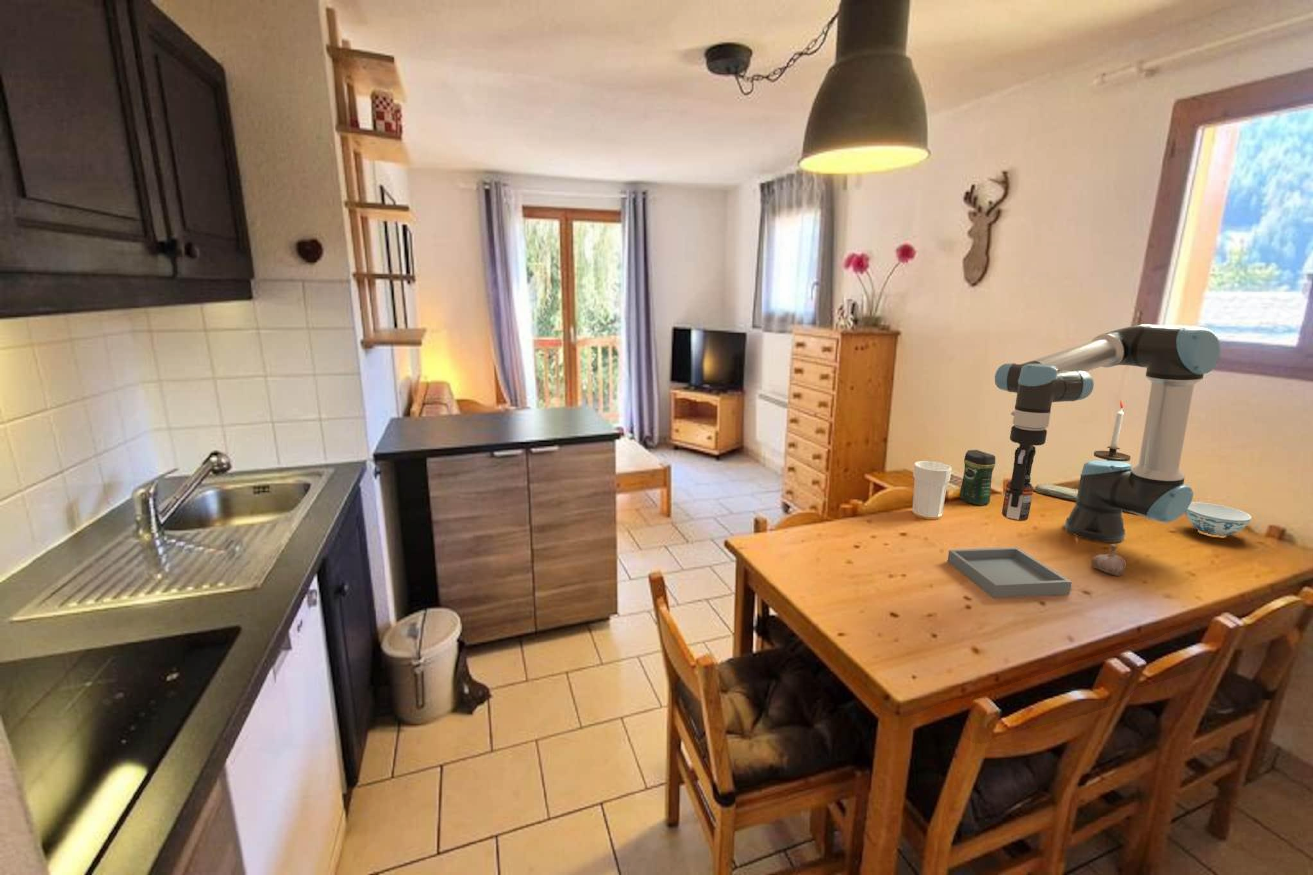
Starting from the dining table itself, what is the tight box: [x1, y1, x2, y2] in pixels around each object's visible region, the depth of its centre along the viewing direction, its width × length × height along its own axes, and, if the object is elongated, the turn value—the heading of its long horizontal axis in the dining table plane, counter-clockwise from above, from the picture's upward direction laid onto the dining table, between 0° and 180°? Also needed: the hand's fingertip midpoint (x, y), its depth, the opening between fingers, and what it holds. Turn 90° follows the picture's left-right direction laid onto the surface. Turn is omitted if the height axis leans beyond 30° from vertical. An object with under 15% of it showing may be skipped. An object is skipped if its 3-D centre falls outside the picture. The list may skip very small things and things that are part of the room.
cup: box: [911, 460, 952, 521], centre depth 194 cm, size 11×11×17 cm
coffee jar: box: [959, 449, 996, 506], centre depth 207 cm, size 10×8×19 cm
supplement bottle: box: [1001, 475, 1034, 522], centre depth 148 cm, size 6×6×11 cm
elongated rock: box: [1034, 483, 1132, 514], centre depth 208 cm, size 35×5×10 cm
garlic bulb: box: [1090, 543, 1127, 577], centre depth 156 cm, size 8×7×8 cm
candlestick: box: [1093, 400, 1132, 462], centre depth 215 cm, size 11×11×35 cm
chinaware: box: [1184, 502, 1252, 536], centre depth 180 cm, size 15×15×8 cm
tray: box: [947, 546, 1072, 599], centre depth 153 cm, size 20×20×4 cm
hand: (1015, 514), depth 149 cm, fingers closed on supplement bottle, 6 cm apart
